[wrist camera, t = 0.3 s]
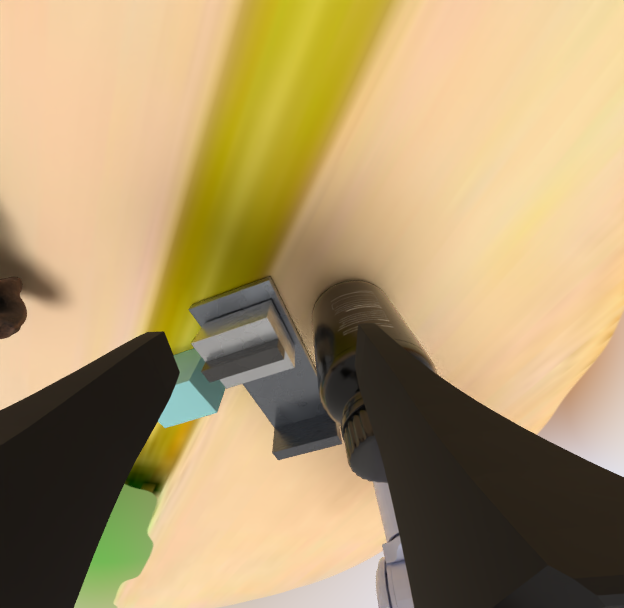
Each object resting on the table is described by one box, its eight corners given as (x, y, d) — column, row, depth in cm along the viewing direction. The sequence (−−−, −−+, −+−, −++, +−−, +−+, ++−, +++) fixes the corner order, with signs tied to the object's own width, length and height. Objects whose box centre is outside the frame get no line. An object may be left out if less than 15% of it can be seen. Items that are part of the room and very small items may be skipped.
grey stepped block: (295, 346, 21) (294, 377, 18) (234, 366, 22) (223, 398, 19) (271, 299, 19) (265, 325, 16) (203, 323, 20) (185, 352, 16)
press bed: (337, 413, 27) (341, 443, 24) (280, 428, 28) (278, 460, 25) (270, 276, 19) (264, 296, 16) (192, 304, 20) (172, 329, 17)
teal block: (230, 372, 24) (217, 412, 20) (186, 386, 24) (165, 427, 21) (208, 342, 22) (188, 380, 18) (161, 358, 23) (132, 398, 19)
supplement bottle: (299, 332, 22) (299, 483, 11) (331, 265, 19) (371, 386, 8) (366, 353, 23) (420, 503, 13) (405, 294, 20) (517, 426, 10)
